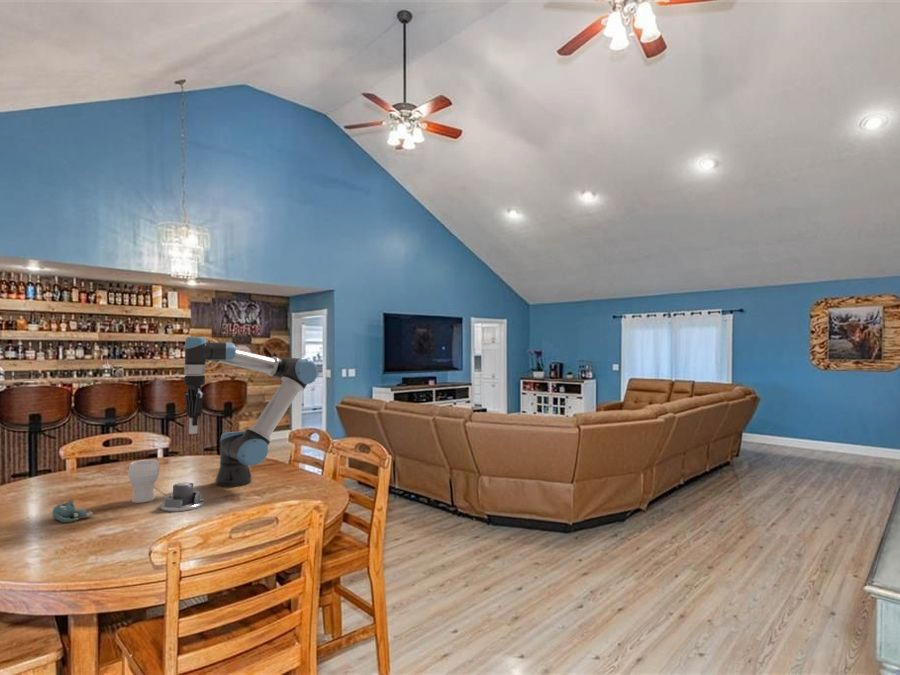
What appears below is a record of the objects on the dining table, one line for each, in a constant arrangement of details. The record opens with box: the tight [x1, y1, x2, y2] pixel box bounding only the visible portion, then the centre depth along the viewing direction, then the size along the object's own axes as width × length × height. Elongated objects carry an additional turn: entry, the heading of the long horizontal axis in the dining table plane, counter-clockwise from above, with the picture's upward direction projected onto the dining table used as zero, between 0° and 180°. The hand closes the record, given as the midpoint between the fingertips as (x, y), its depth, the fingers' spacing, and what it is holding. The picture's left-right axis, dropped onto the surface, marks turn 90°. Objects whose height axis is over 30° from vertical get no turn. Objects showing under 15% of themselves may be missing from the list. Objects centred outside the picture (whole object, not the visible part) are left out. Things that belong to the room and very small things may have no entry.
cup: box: [127, 459, 160, 504], centre depth 203 cm, size 11×11×15 cm
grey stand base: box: [159, 490, 205, 513], centre depth 197 cm, size 15×15×4 cm
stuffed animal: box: [52, 499, 93, 524], centre depth 180 cm, size 11×7×12 cm
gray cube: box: [172, 481, 194, 506], centre depth 197 cm, size 7×7×7 cm
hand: (193, 433), depth 206 cm, fingers closed
